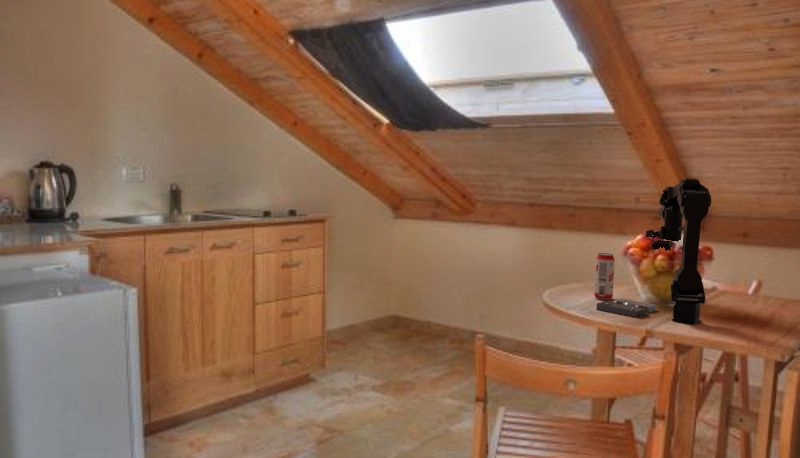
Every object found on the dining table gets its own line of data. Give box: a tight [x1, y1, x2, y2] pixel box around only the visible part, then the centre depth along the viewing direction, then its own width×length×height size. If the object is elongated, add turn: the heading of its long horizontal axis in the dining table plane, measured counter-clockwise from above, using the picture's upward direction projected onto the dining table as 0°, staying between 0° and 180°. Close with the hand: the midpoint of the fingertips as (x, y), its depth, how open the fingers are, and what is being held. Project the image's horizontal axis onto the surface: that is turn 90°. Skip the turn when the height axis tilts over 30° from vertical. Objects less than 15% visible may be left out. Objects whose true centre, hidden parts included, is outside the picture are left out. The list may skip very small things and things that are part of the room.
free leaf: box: [614, 298, 657, 314], centre depth 210 cm, size 12×8×2 cm
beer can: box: [594, 252, 616, 301], centre depth 225 cm, size 6×6×16 cm
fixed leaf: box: [596, 300, 647, 318], centre depth 206 cm, size 14×8×2 cm, turn 42°
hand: (670, 268), depth 218 cm, fingers closed
